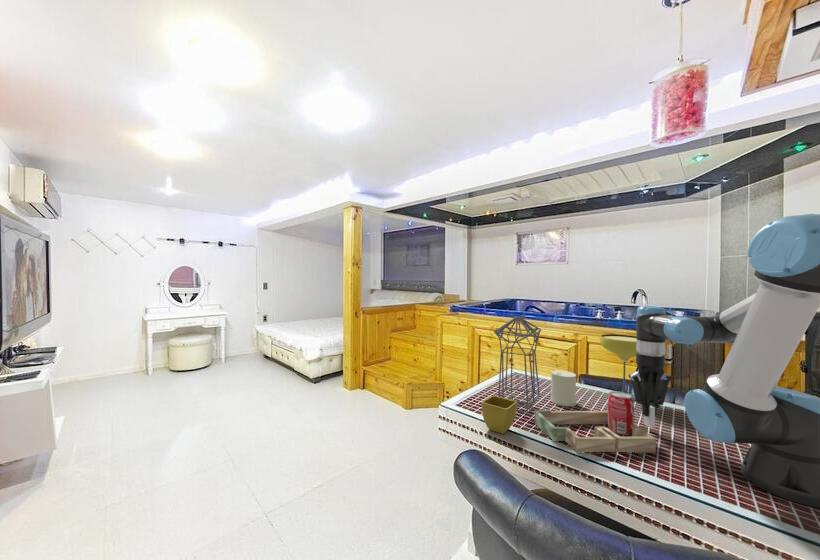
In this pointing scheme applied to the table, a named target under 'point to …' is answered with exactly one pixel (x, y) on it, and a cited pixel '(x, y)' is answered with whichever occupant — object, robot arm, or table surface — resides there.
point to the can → (563, 388)
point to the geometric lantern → (498, 332)
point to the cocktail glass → (620, 350)
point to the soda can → (620, 413)
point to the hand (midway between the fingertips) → (649, 425)
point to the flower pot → (499, 413)
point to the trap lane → (602, 435)
